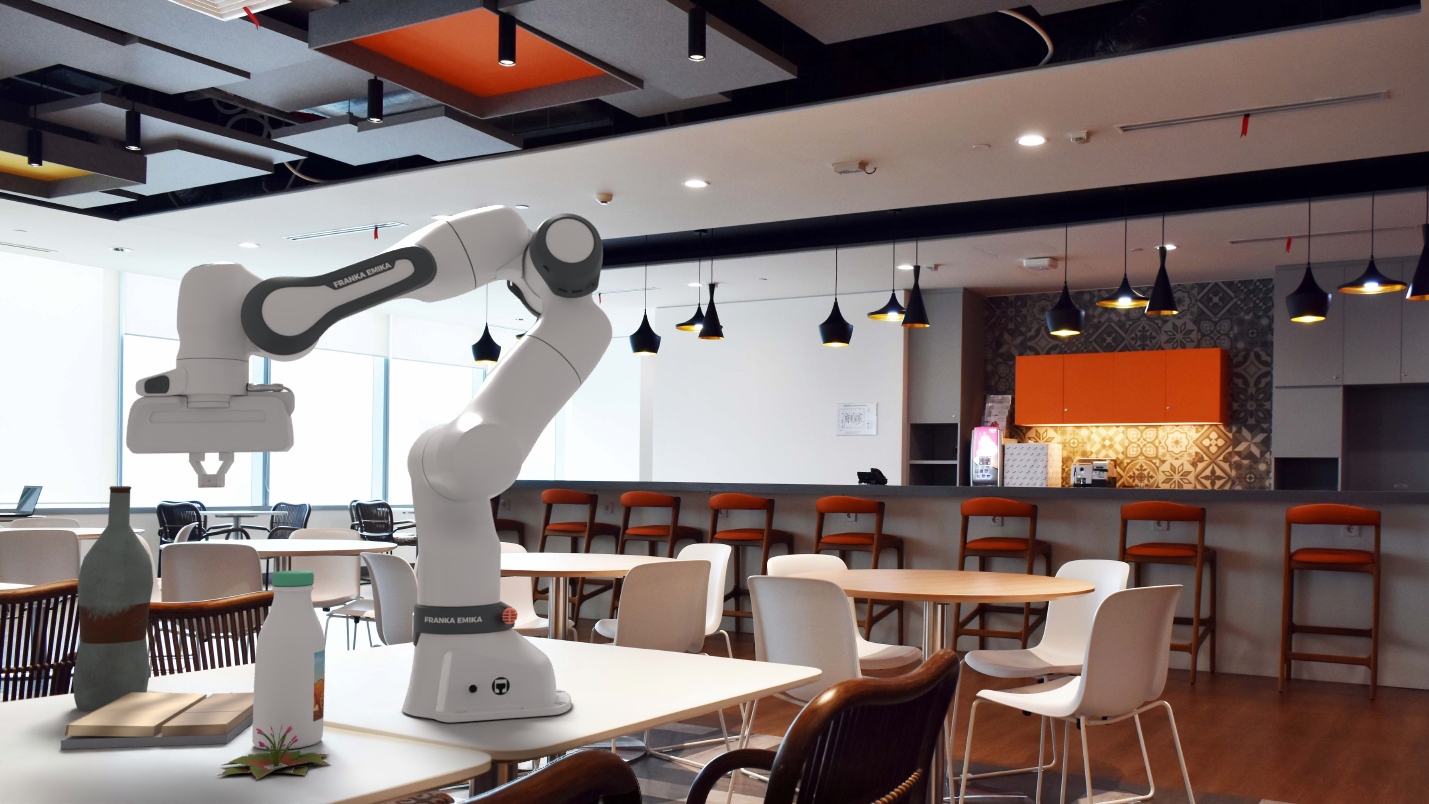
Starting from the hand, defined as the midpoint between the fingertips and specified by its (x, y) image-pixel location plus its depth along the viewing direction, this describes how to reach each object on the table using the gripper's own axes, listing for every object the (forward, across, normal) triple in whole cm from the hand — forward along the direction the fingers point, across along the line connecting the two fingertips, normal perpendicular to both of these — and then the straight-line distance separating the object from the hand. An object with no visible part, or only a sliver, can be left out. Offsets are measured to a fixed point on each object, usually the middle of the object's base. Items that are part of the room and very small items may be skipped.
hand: (211, 487), depth 141 cm
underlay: (+30, +2, +6) cm, 30 cm away
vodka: (+30, +15, -10) cm, 35 cm away
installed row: (+29, -3, +6) cm, 29 cm away
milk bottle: (+30, -14, +17) cm, 37 cm away
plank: (+28, +6, +5) cm, 30 cm away
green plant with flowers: (+31, -14, +27) cm, 43 cm away
